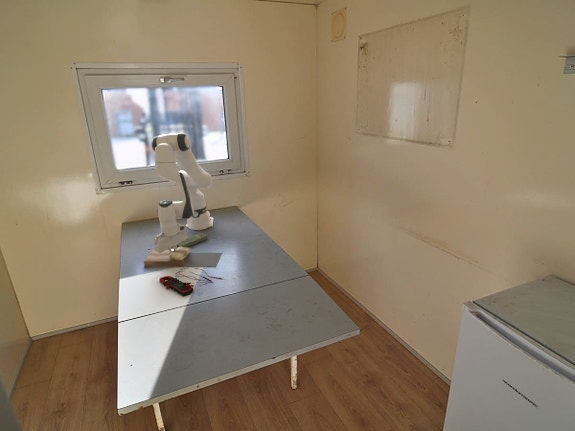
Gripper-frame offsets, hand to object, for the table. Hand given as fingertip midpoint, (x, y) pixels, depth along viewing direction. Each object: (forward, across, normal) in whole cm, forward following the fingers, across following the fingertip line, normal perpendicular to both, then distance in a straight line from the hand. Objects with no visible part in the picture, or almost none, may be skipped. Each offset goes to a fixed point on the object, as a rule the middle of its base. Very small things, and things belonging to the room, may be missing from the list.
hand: (172, 252), depth 190 cm
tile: (+1, +1, -5) cm, 5 cm away
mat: (+4, +8, -14) cm, 17 cm away
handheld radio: (+3, +19, +10) cm, 21 cm away
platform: (+4, -2, +3) cm, 5 cm away
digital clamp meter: (+5, -12, -24) cm, 28 cm away
